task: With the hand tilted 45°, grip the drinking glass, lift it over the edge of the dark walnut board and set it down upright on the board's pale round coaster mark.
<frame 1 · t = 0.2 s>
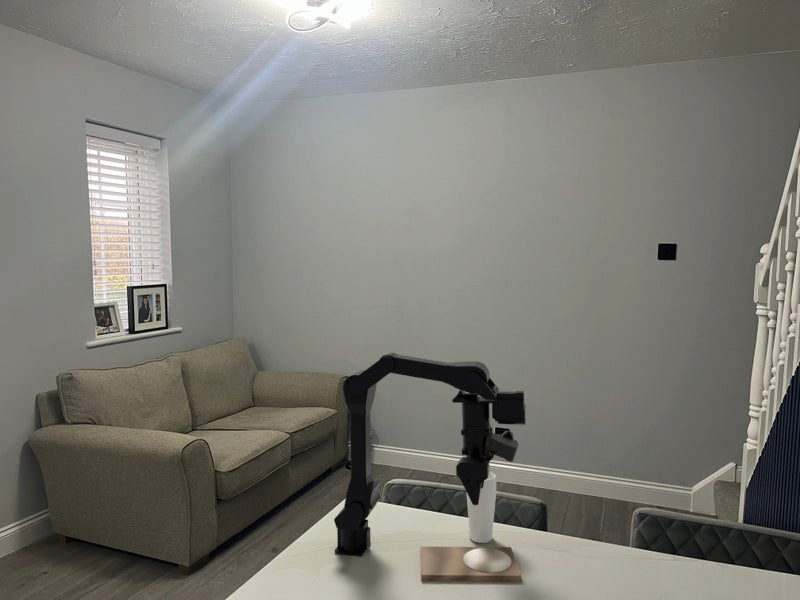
hand: (478, 496, 125), 15 cm above the table, tool pointing down, fingers open, 9 cm apart
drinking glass: (480, 539, 137), on the table
walnut board: (468, 565, 125), on the table
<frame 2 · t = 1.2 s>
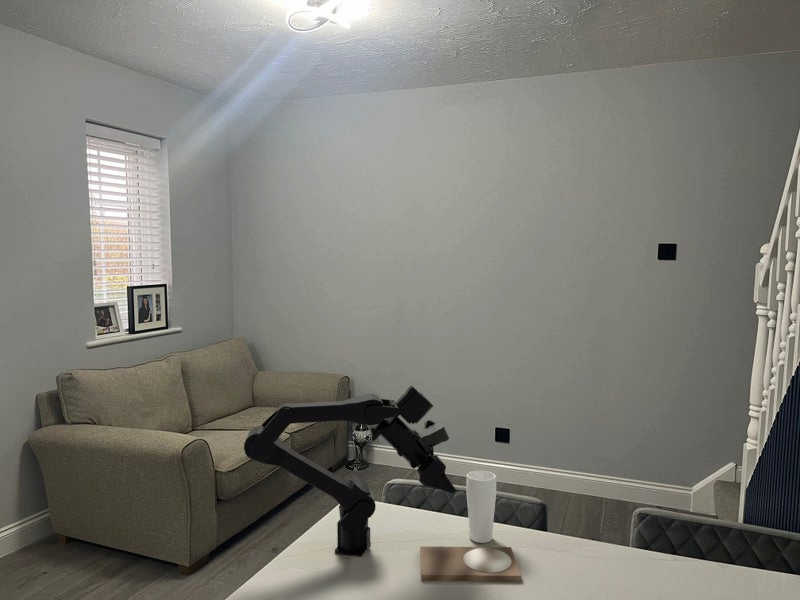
hand: (449, 484, 135), 13 cm above the table, tool tilted 45°, fingers open, 9 cm apart
nothing on the table moved.
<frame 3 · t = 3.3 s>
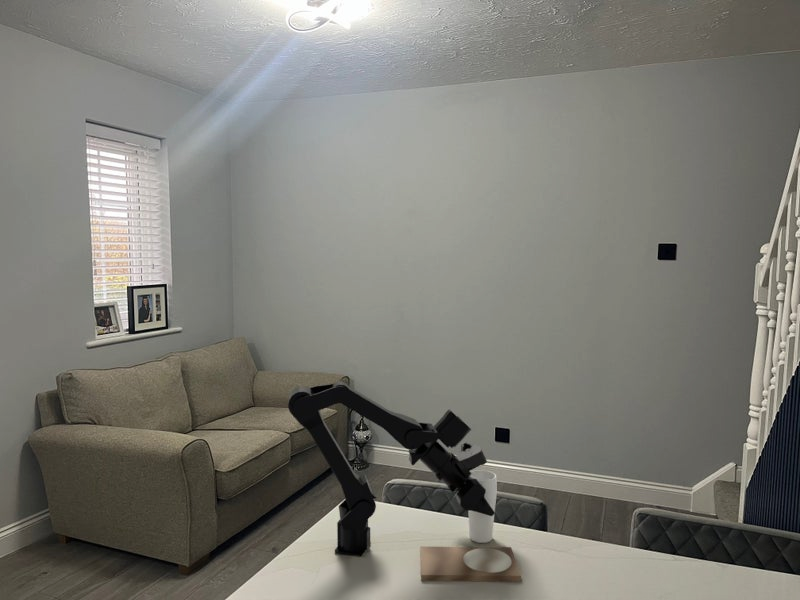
hand: (487, 506, 137), 8 cm above the table, tool tilted 45°, fingers open, 9 cm apart
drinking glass: (480, 539, 137), on the table, touching gripper
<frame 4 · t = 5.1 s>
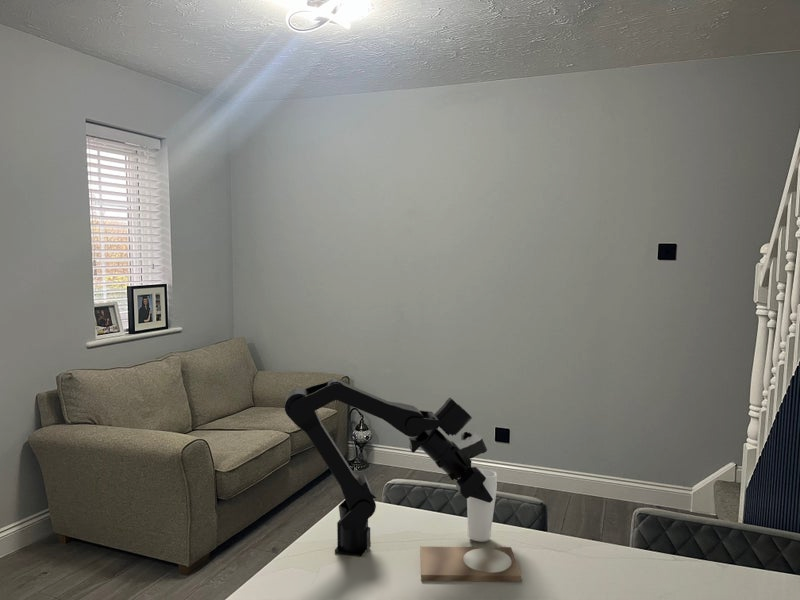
hand: (486, 495, 137), 10 cm above the table, tool tilted 45°, fingers closed on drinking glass, 7 cm apart
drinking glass: (478, 538, 137), on the table, touching gripper
when the fingers open (11 cm above the table, at t = 8.1 s): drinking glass stays where it is, resting on walnut board.
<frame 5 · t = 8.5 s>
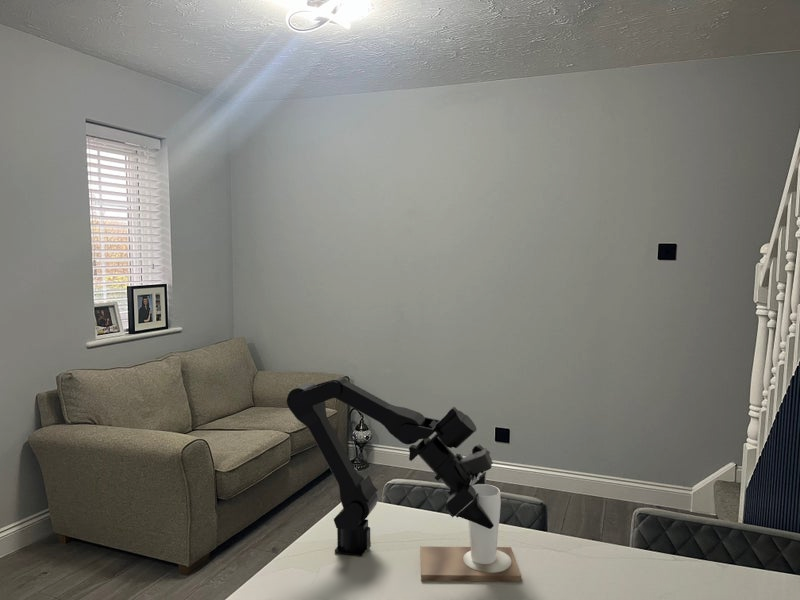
hand: (494, 517, 124), 11 cm above the table, tool tilted 45°, fingers open, 9 cm apart
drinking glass: (483, 560, 125), point 1 cm above the table, touching gripper, walnut board
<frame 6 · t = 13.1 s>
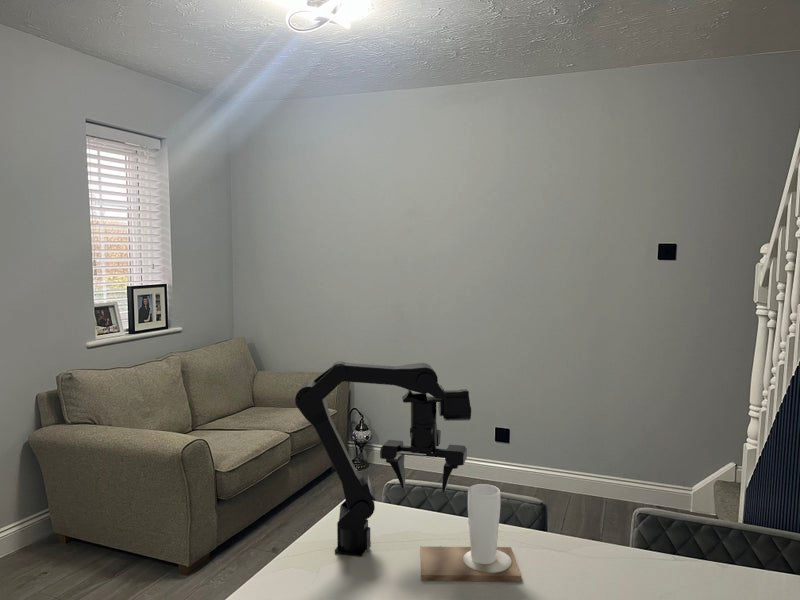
hand: (423, 489, 133), 13 cm above the table, tool pointing down, fingers open, 9 cm apart
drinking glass: (483, 560, 125), point 1 cm above the table, touching walnut board
at the end: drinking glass inside the target area on the walnut board (0.9 cm from its centre), point 1.2 cm above the walnut board's base; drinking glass tilted 0°; the gripper is holding nothing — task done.
